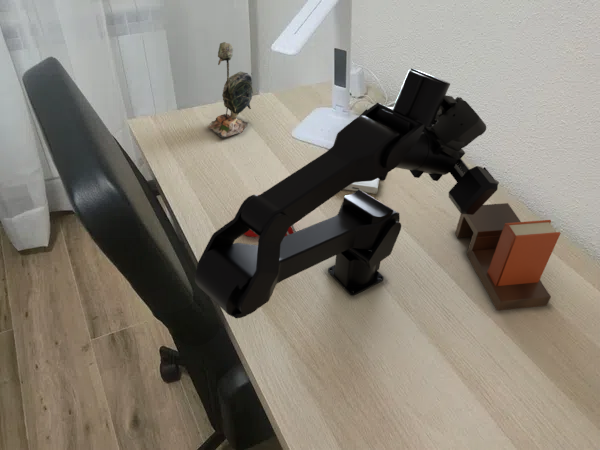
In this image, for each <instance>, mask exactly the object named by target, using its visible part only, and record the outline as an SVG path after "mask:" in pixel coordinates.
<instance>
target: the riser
mask: <svg viewBox="0 0 600 450" xmlns="http://www.w3.org/2000/svg"><path fill="white" fill-rule="evenodd" d="M515 222H522V221H521V219H520V218H519V217H518V216H517V214H516V213H515V211H514V209H513V208H512V206H511V205H510V204H509V202H503V203H490V204H483V205H482V206H481V207H480V208H479V209H478V210H477V211H476V213H475V214H474V215H468V214H461V213H460V215H459V218H458V222H457V225H456V229H455V232H454V234H455V236H456V237H457V238H458V239H460V238H470V237H471V240H470V243H469V246H468V249H467V252H466V256H467V258H468V260H469V262H470V263H471V265H472V267H473V269H474V271H475V272H476V275H477V276H478V278H479V280H480V282H481V283H482V286H483V287H484V289H485V291H486V292H487V295H488V296H489V299H490V301H491V302H492V304H493V306H494V307H495V310H496V311H505V310H516V309H525V308H536V307H545V306H548V304H549V302H550V300H551V298H552V296H551V294H550V293H549V291H548V290H547V288H546V287H545V285H544V284H543V282H542V280H541V279H540V280H539V282H536V283H525V284H514V285H504V286H495V285H494V283H493V281H492V279H491V277H490V276H489V274H488V269H489V267H490V264H491V261H492V258H493V256H494V253H495V250H496V247H497V244H498V242H499V239H500V236H501V233H502V231H503V228H504V225H505V223H515Z"/></svg>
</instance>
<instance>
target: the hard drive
mask: <svg viewBox="0 0 600 450" xmlns="http://www.w3.org/2000/svg"><path fill="white" fill-rule="evenodd" d="M379 183H380V179H378V178H377V179H375V180H373V181H364V182H354V183H352V184H350V185H349V186H347V187H346V188H344V189H343V190H345V191H346V190H347V191H353V192H356V191H357V190H361V191H363V192H365V193H366V194H374V195H375V194H378V189H379Z"/></svg>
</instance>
